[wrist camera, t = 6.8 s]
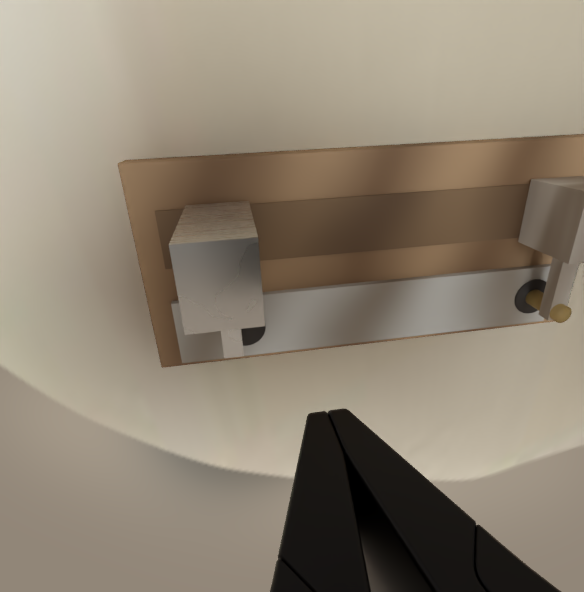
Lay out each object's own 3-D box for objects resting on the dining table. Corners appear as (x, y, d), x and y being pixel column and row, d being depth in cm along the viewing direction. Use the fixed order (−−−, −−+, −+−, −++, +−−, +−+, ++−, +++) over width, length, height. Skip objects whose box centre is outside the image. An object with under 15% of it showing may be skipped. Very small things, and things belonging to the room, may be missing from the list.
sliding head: (248, 201, 15) (258, 237, 11) (260, 334, 18) (271, 408, 13) (185, 205, 15) (168, 244, 11) (206, 340, 18) (199, 418, 13)
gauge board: (583, 134, 18) (681, 139, 14) (539, 310, 22) (606, 353, 18) (125, 160, 16) (92, 176, 12) (165, 353, 19) (150, 413, 16)
